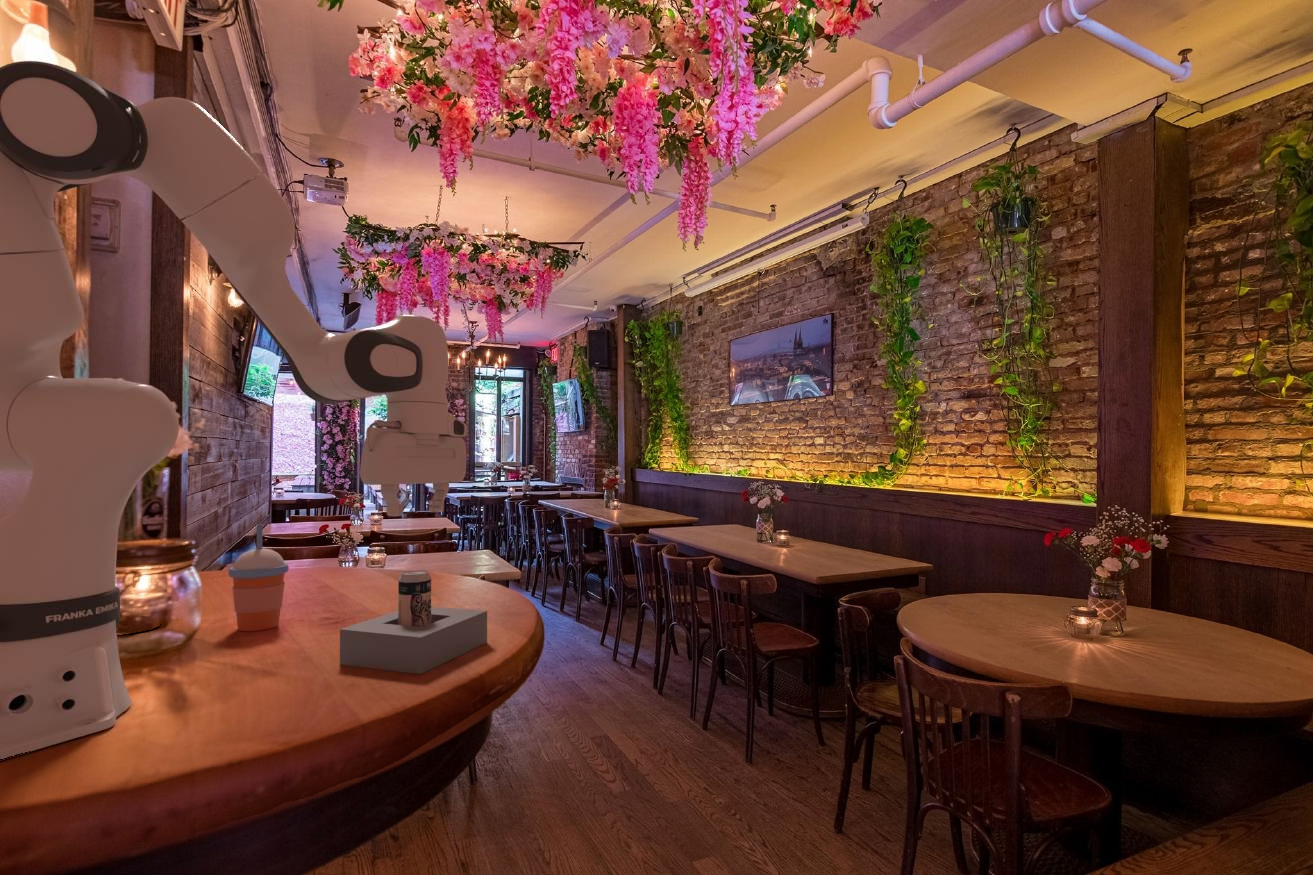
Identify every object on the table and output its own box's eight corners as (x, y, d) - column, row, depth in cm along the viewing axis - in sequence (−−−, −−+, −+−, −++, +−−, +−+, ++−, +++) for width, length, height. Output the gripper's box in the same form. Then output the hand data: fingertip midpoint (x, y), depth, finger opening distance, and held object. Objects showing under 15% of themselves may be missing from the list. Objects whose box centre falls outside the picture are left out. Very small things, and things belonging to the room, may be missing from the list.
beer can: (420, 656, 97) (421, 575, 98) (391, 655, 98) (391, 574, 99) (437, 647, 102) (437, 570, 102) (408, 646, 103) (409, 569, 103)
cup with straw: (232, 624, 117) (233, 523, 118) (290, 618, 121) (291, 521, 122) (223, 636, 109) (224, 528, 110) (285, 630, 113) (286, 525, 114)
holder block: (420, 674, 90) (420, 637, 90) (339, 664, 94) (339, 629, 94) (487, 642, 105) (487, 610, 105) (414, 635, 109) (414, 605, 109)
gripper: (386, 418, 90) (384, 519, 89) (473, 426, 109) (472, 510, 109) (349, 419, 92) (347, 518, 91) (441, 427, 111) (440, 509, 111)
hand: (416, 513), depth 100 cm, fingers open, 8 cm apart
